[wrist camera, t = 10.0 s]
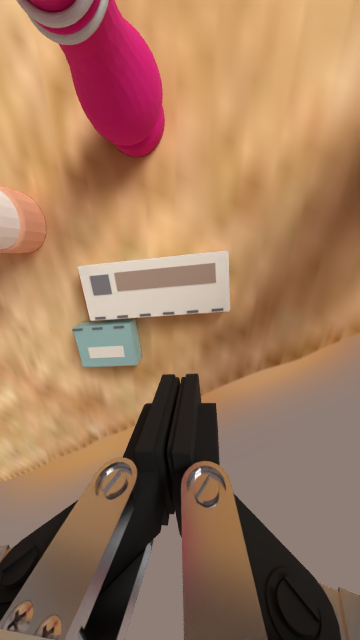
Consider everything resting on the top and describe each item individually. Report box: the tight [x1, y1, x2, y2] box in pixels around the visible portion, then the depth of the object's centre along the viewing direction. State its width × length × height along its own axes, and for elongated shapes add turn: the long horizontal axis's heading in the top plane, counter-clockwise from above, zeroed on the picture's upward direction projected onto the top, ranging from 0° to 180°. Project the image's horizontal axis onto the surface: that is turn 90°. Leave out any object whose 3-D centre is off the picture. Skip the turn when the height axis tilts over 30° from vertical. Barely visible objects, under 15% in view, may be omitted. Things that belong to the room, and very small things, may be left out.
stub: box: [72, 318, 142, 367], centre depth 29 cm, size 8×6×3 cm
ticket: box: [77, 250, 230, 321], centre depth 26 cm, size 18×7×3 cm, turn 95°
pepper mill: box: [17, 0, 165, 157], centre depth 13 cm, size 7×7×20 cm
